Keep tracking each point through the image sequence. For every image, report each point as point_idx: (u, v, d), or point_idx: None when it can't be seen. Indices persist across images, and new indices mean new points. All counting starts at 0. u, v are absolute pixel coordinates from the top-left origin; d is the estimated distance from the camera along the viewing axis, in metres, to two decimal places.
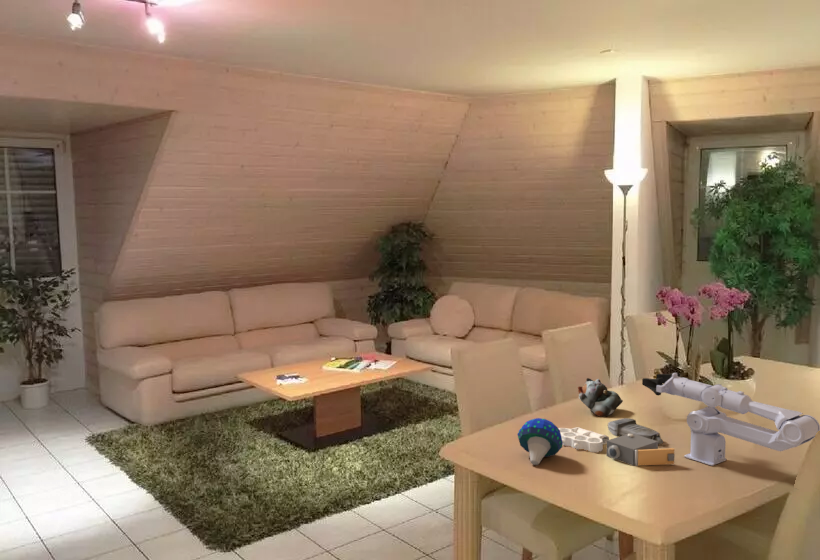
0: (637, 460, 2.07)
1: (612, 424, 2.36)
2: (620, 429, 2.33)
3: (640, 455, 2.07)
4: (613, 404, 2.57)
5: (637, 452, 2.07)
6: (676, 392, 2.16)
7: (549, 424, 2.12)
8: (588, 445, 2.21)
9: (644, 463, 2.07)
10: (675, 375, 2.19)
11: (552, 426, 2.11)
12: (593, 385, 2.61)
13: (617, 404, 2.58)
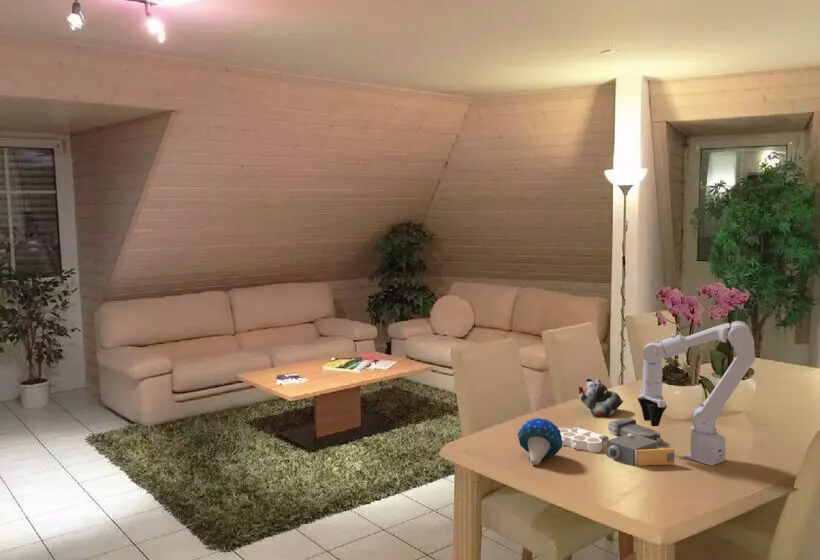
0: (637, 460, 2.07)
1: (612, 424, 2.36)
2: (620, 429, 2.33)
3: (640, 455, 2.07)
4: (614, 404, 2.56)
5: (637, 452, 2.07)
6: (659, 390, 2.15)
7: (549, 424, 2.12)
8: (587, 445, 2.21)
9: (644, 463, 2.07)
10: (641, 395, 2.17)
11: (552, 426, 2.11)
12: (593, 385, 2.60)
13: (617, 404, 2.58)
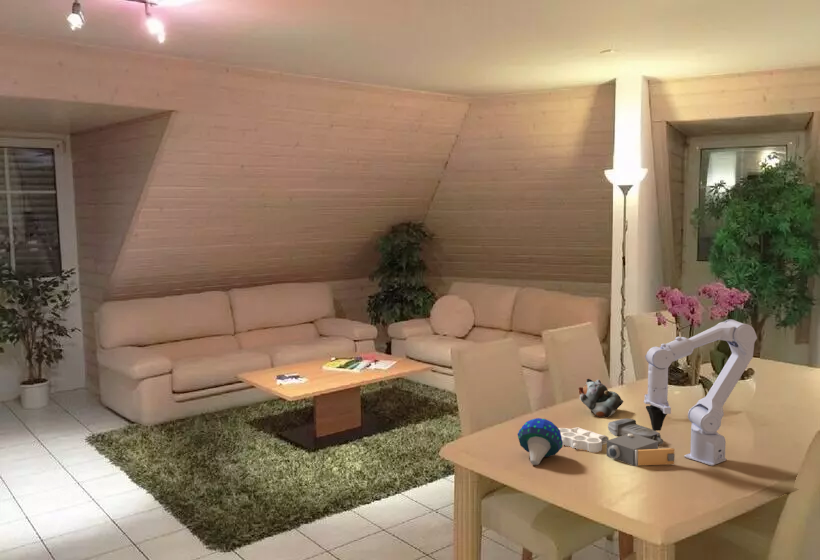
0: (637, 460, 2.07)
1: (612, 424, 2.36)
2: (620, 429, 2.33)
3: (640, 455, 2.07)
4: (614, 405, 2.56)
5: (637, 452, 2.07)
6: (665, 395, 2.08)
7: (549, 424, 2.12)
8: (587, 445, 2.21)
9: (644, 463, 2.07)
10: (646, 401, 2.10)
11: (552, 426, 2.11)
12: (594, 386, 2.60)
13: (617, 404, 2.57)
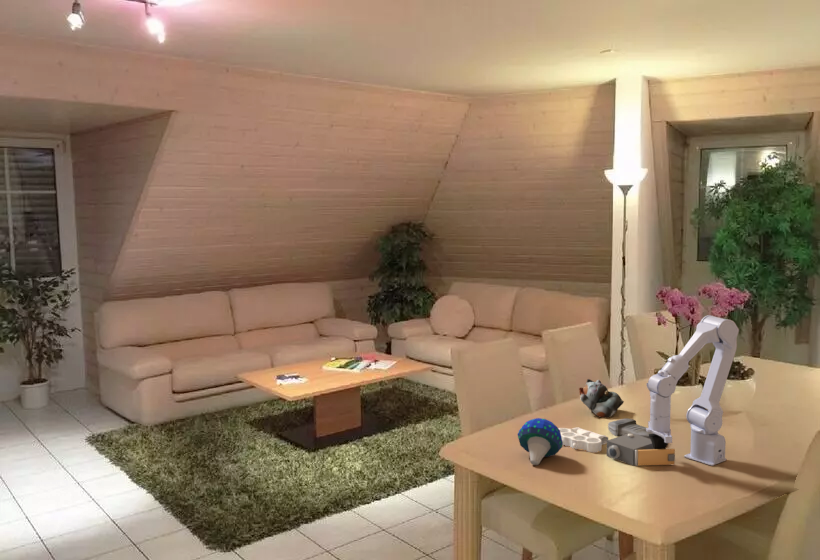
0: (637, 460, 2.07)
1: (612, 424, 2.36)
2: (620, 429, 2.33)
3: (640, 455, 2.07)
4: (614, 405, 2.56)
5: (637, 452, 2.07)
6: (667, 424, 2.06)
7: (549, 424, 2.12)
8: (586, 445, 2.21)
9: (644, 463, 2.07)
10: (648, 428, 2.09)
11: (552, 426, 2.11)
12: (594, 386, 2.59)
13: (618, 405, 2.57)
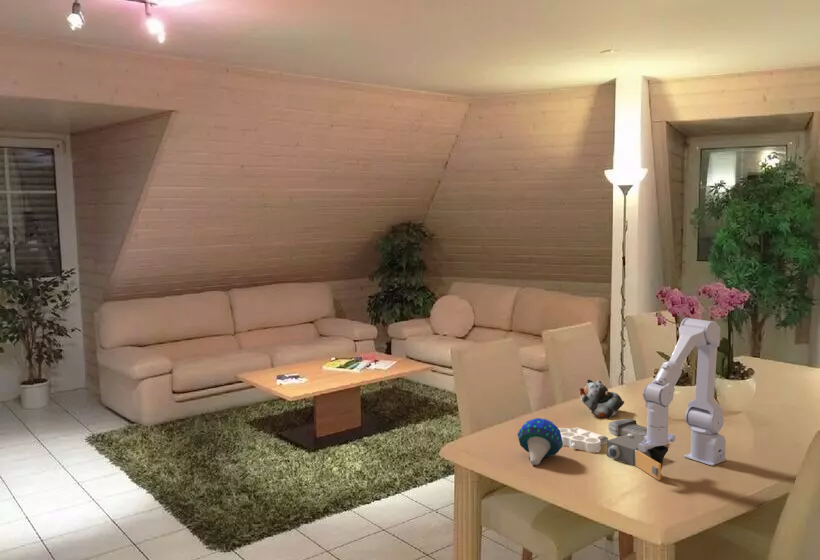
0: (635, 459, 2.07)
1: (613, 424, 2.36)
2: (621, 429, 2.33)
3: (637, 456, 2.06)
4: (615, 405, 2.55)
5: (635, 452, 2.07)
6: (655, 435, 1.97)
7: (549, 424, 2.12)
8: (586, 445, 2.21)
9: (639, 466, 2.05)
10: (647, 436, 2.02)
11: (552, 426, 2.11)
12: (595, 386, 2.58)
13: (619, 405, 2.56)
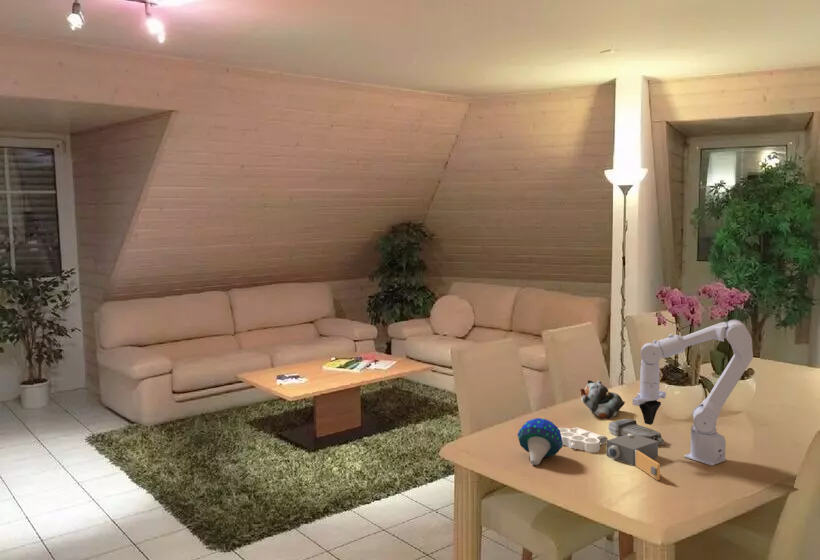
0: (635, 459, 2.07)
1: (613, 425, 2.35)
2: (621, 430, 2.33)
3: (637, 456, 2.06)
4: (616, 406, 2.54)
5: (635, 452, 2.07)
6: (648, 390, 2.14)
7: (549, 424, 2.12)
8: (585, 445, 2.21)
9: (639, 466, 2.05)
10: (640, 393, 2.19)
11: (552, 426, 2.11)
12: (595, 387, 2.58)
13: (619, 406, 2.56)
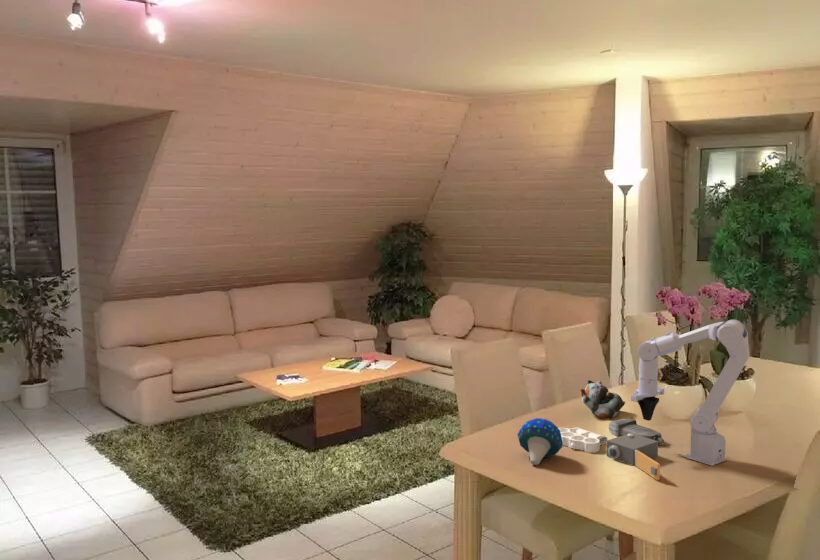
0: (635, 459, 2.07)
1: (613, 424, 2.35)
2: (621, 429, 2.33)
3: (637, 456, 2.06)
4: (617, 406, 2.54)
5: (635, 452, 2.07)
6: (646, 387, 2.18)
7: (549, 424, 2.12)
8: (584, 445, 2.21)
9: (639, 466, 2.05)
10: (639, 389, 2.24)
11: (552, 426, 2.11)
12: (596, 387, 2.57)
13: (620, 406, 2.56)
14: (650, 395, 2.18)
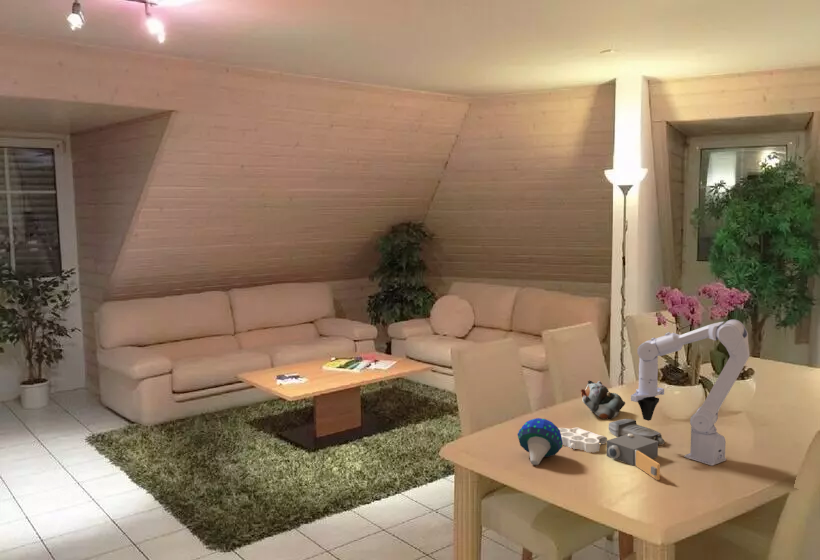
0: (635, 459, 2.07)
1: (613, 425, 2.35)
2: (621, 430, 2.33)
3: (637, 456, 2.06)
4: (617, 406, 2.54)
5: (635, 452, 2.07)
6: (646, 387, 2.18)
7: (549, 424, 2.12)
8: (584, 445, 2.21)
9: (639, 466, 2.05)
10: (639, 389, 2.24)
11: (552, 426, 2.11)
12: (596, 387, 2.57)
13: (620, 406, 2.55)
14: (650, 395, 2.18)
